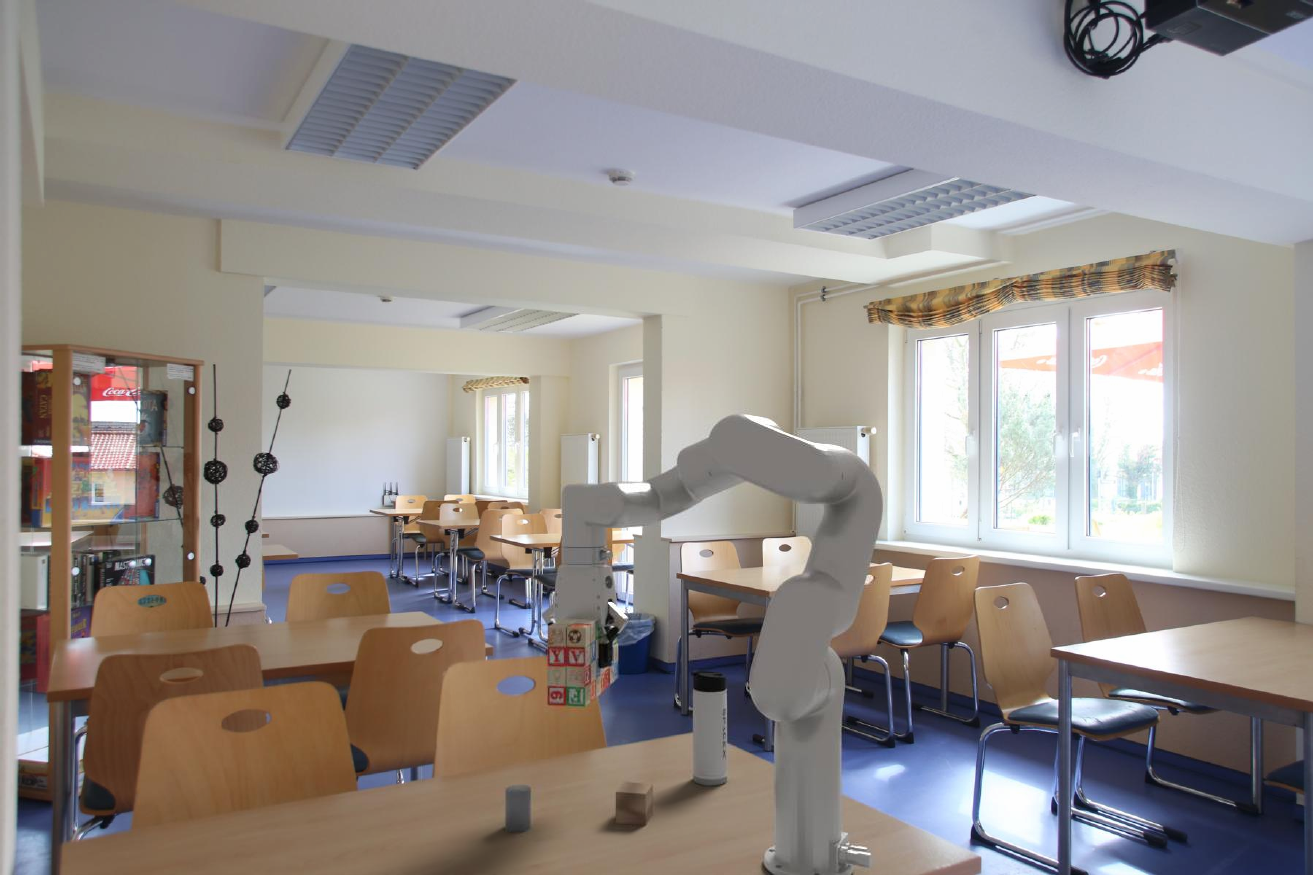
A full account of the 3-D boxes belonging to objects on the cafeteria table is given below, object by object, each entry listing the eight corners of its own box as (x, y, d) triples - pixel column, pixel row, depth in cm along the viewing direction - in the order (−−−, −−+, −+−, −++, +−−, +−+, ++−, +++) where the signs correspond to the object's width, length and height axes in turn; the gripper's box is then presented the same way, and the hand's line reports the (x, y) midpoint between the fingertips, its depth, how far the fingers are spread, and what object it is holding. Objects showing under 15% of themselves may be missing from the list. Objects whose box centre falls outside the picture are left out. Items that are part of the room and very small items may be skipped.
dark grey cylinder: (535, 825, 142) (535, 787, 143) (520, 834, 139) (521, 794, 139) (515, 821, 144) (515, 783, 145) (499, 829, 141) (500, 790, 141)
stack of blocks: (584, 677, 159) (584, 607, 160) (619, 678, 158) (618, 608, 159) (546, 705, 138) (546, 625, 139) (585, 707, 137) (585, 625, 138)
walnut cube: (652, 814, 147) (652, 783, 148) (645, 825, 143) (645, 793, 143) (623, 812, 149) (623, 781, 149) (615, 823, 144) (615, 791, 144)
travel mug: (686, 777, 166) (686, 668, 168) (719, 773, 168) (719, 666, 170) (698, 787, 161) (697, 674, 162) (732, 783, 163) (731, 672, 164)
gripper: (640, 557, 148) (641, 665, 147) (553, 554, 156) (553, 657, 155) (618, 560, 142) (618, 673, 141) (528, 557, 150) (527, 664, 149)
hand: (584, 664), depth 148 cm, fingers closed on stack of blocks, 7 cm apart
